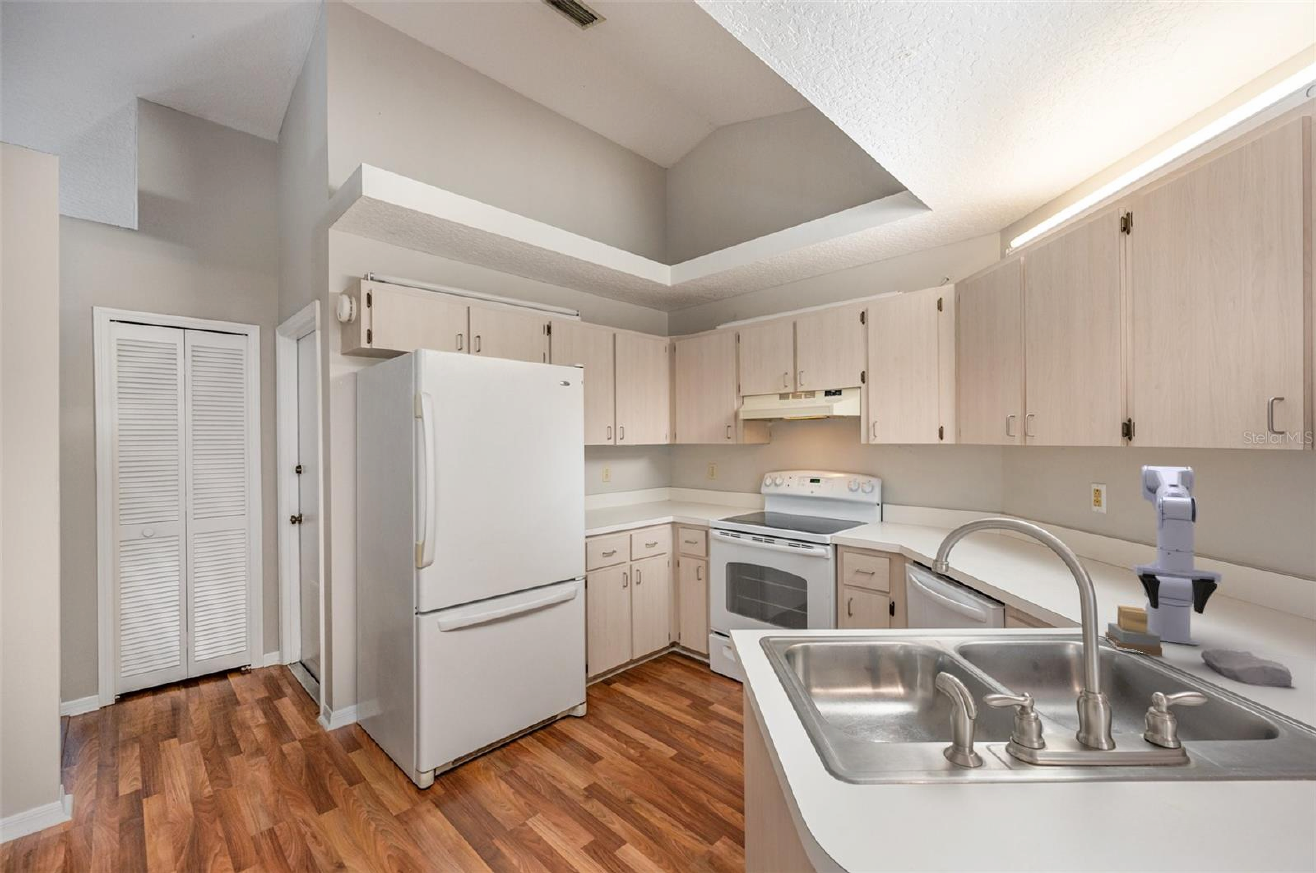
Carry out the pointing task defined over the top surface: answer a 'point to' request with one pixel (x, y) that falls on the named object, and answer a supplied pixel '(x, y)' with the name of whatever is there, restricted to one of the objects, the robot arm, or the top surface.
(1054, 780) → the top surface
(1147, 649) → the bottom slab
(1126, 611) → the oak cube
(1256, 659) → the stone block
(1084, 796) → the top surface
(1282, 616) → the top surface
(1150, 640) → the top slab
